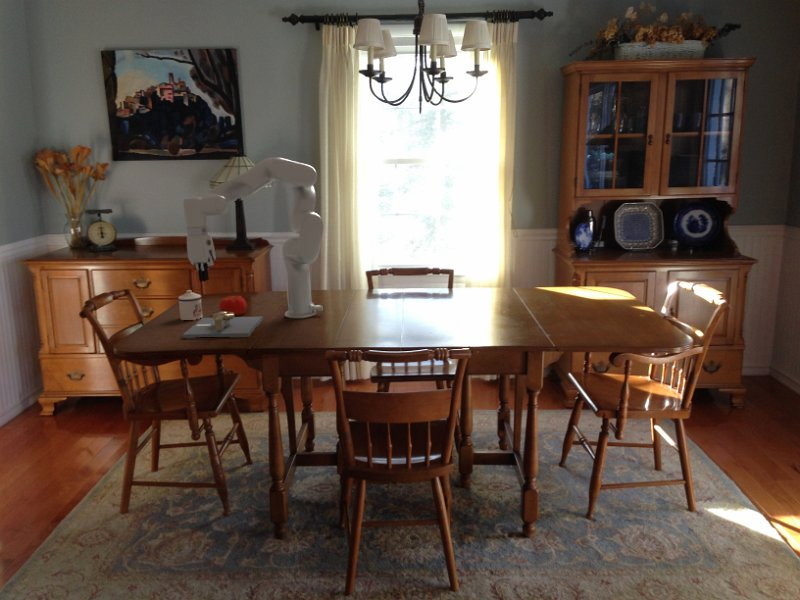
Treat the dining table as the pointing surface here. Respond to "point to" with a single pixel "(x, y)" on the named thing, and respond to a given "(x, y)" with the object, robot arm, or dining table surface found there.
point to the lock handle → (222, 319)
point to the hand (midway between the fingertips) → (204, 280)
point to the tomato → (233, 305)
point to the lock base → (231, 329)
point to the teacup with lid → (190, 306)
